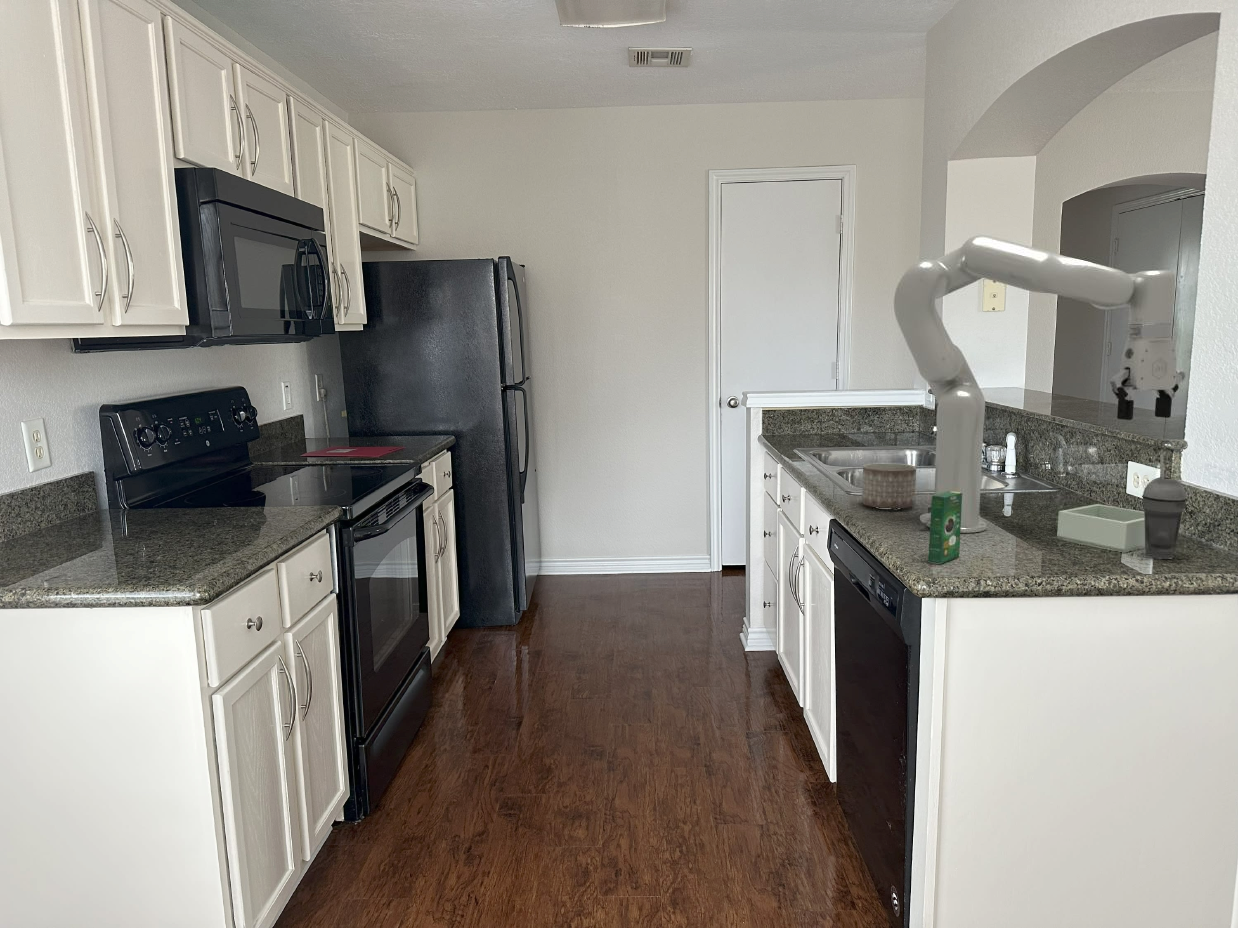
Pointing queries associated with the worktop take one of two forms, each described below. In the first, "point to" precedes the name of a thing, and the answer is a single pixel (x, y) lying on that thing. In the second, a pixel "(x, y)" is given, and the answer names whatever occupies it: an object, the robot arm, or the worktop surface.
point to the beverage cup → (1162, 514)
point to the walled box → (1103, 527)
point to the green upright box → (945, 527)
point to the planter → (889, 485)
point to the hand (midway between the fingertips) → (1143, 418)
